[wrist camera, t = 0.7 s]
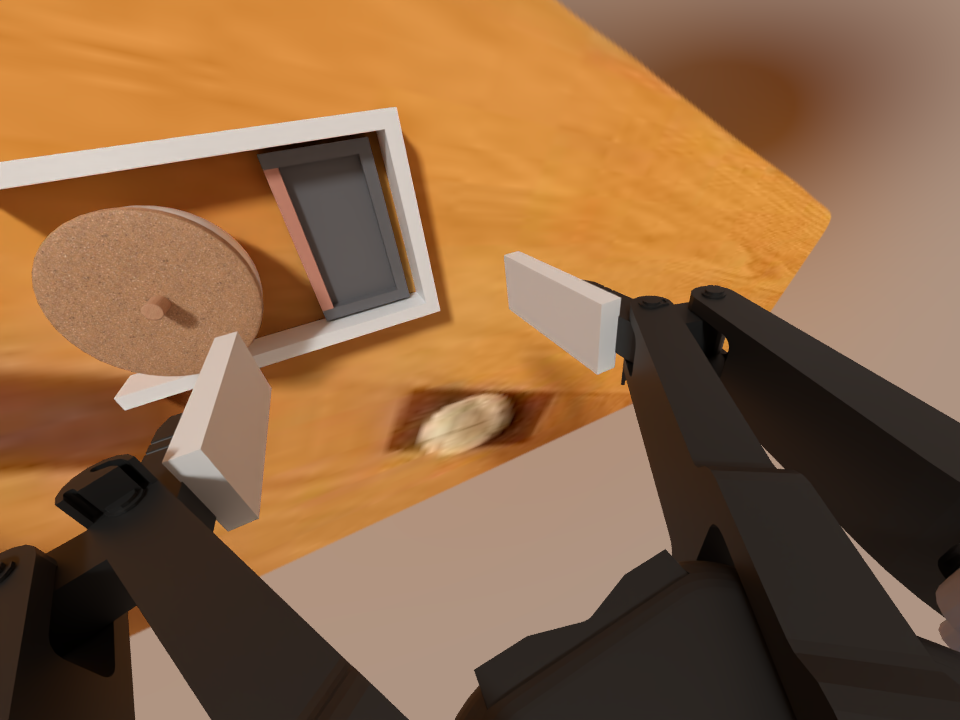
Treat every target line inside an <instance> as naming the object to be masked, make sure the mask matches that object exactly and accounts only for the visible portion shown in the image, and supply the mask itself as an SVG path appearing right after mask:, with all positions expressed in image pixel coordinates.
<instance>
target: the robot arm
mask: <svg viewBox="0 0 960 720" xmlns="http://www.w3.org/2000/svg"><path fill="white" fill-rule="evenodd" d="M504 262H505V272H506V282H507V292H508V302H509V309H510V310H511V311H513V312H514V313H515V314H517V315H518V316H519V317H521V318H522V319H523V320H525V321H526V322H527V323H529V324H530V325H531V326H533V327H534V328H535V329H537V330H538V331H539V332H541V333H542V334H543V335H545V336H546V337H547V338H549V339H550V340H551V341H553V342H554V343H555V344H557V345H558V346H559V347H561V348H562V349H563V350H565V351H566V352H568V353H569V354H570V355H572V356H573V357H574V358H576V359H577V360H578V361H580V362H581V363H582V364H584V365H585V366H586V367H588V368H589V369H590V370H592V371H593V372H594V373H596V374H597V375H598V374H600V373H602V372H605V371H607V370H610V369H612V368H614V367H615V356H616V353H617V354H619V355H620V356H622V357H623V358H624V363H623V372H622V381H621V385H625V381H626V380H627V384H628V387H629V391H630V395H631V398H632V402H633V405H634V409H635V413H636V416H637V420H638V423H639V427H640V431H641V434H642V438H643V441H644V445H645V448H646V452H647V456H648V460H649V463H650V467H651V470H652V473H653V478H654V481H655V485H656V488H657V492H658V496H659V499H660V503H661V506H662V509H663V513H664V517H665V521H666V524H667V528H668V532H669V535H670V540H671V545H672V556H671V555H670V554H669V553H668V551H667V550H663V551H662V552H660V553H659V554H657V555H655V556H654V557H652V558H651V559H649V560H647V561H646V562H644V563H643V564H641V565H640V566H638V567H636V568H635V569H633V570H632V571H630V572H628V573H627V574H625V575H624V576H623V578H622V579H621V580H620V581H619V583H618V584H617V585H616V586H615V588H614V589H613V590H612V591H611V593H610V594H609V595H608V597H607V598H606V599H605V600H604V601H603V603H602V604H601V605H600V607H599V608H598V609H597V610H596V612H595V613H594V614H593V616H591V618H589V619H588V620H586V621H584V622H581V623H577V624H573V625H569V626H565V627H562V628H557V629H554V630H550V631H546V632H542V633H538V634H534V635H530V636H527V637H525V638H524V639H522V640H521V641H519V642H517V643H516V644H514V645H513V646H511V647H510V648H508V649H506V650H505V651H503V652H502V653H500V654H498V655H497V656H495V657H494V658H492V659H491V660H489V661H487V662H486V663H484V664H483V665H481V666H480V667H478V668H476V669H475V670H474V671H475V674H476V677H477V680H478V683H479V686H478V687H477V689H476V690H475V691H474V692H473V693H472V694H471V696H470V697H469V698H468V699H467V701H466V702H465V704H464V705H463V707H462V708H461V710H460V711H459V713H458V714H457V716H456V718H455V720H960V423H959V422H957V421H955V420H954V419H952V418H950V417H949V416H947V415H945V414H944V413H942V412H940V411H938V410H937V409H935V408H933V407H932V406H930V405H928V404H927V403H925V402H923V401H921V400H920V399H918V398H916V397H915V396H913V395H911V394H909V393H908V392H906V391H904V390H903V389H901V388H899V387H897V386H896V385H894V384H892V383H891V382H889V381H887V380H885V379H884V378H882V377H880V376H878V375H876V374H875V373H873V372H872V371H870V370H868V369H866V368H865V367H863V366H861V365H860V364H858V363H856V362H854V361H853V360H851V359H849V358H848V357H846V356H844V355H842V354H841V353H839V352H837V351H836V350H834V349H832V348H830V347H829V346H827V345H825V344H824V343H822V342H820V341H818V340H817V339H815V338H813V337H811V336H810V335H808V334H806V333H805V332H803V331H801V330H800V329H798V328H796V327H794V326H793V325H791V324H789V323H788V322H786V321H784V320H782V319H781V318H779V317H777V316H776V315H774V314H772V313H770V312H769V311H767V310H765V309H764V308H762V307H760V306H758V305H757V304H755V303H753V302H751V301H750V300H748V299H746V298H745V297H743V296H741V295H739V294H738V293H736V292H734V291H732V290H730V289H728V288H724V287H720V286H716V285H715V286H713V285H708V286H701V287H698V288H695V289H693V290H692V291H691V296H690V301H689V302H688V303H681V304H675V305H673V303H672V302H671V301H670V300H668V299H666V298H663V297H658V296H641V297H637V298H635V299H632V298H630V297H627V296H625V295H623V294H621V293H618V292H616V291H614V290H613V291H612V290H611V289H609V288H607V287H604V286H603V285H600V284H598V283H596V282H592V281H587V280H581V279H579V278H577V277H574V276H572V275H570V274H568V273H566V272H563V271H561V270H559V269H557V268H555V267H552V266H550V265H548V264H546V263H544V262H542V261H539V260H537V259H535V258H533V257H531V256H528V255H526V254H524V253H522V252H520V251H517V252H513V253H510V254H506V255H504ZM725 337H726V338H727V340H728V343H729V351H728V353H727V352H726V351H725V350H723V349H722V347H723V343H724V340H725ZM271 389H272V388H271V387H270V385H269V383H268V382H267V380H266V378H265V377H264V375H263V373H262V372H261V370H260V368H259V367H258V365H257V363H256V362H255V360H254V358H253V356H252V355H251V353H250V351H249V350H248V348H247V346H246V345H245V343H244V341H243V340H242V338H241V336H240V335H239V333H238V331H237V332H233V333H230V334H226V335H223V336H219V337H216V338H214V341H213V343H212V346H211V348H210V350H209V353H208V355H207V357H206V360H205V362H204V364H203V367H202V369H201V371H200V374H199V376H198V379H197V381H196V383H195V386H194V388H193V390H192V393H191V395H190V397H189V400H188V402H187V405H186V407H185V409H184V412H183V413H180V414H177V415H174V416H171V417H170V418H169V419H168V420H167V421H166V422H165V423H164V424H163V425H162V426H161V427H160V428H159V429H158V430H157V431H156V433H155V435H154V437H153V439H152V441H151V444H152V445H150V446H149V448H148V450H147V452H146V454H147V455H145V456H144V458H143V460H142V462H140V461H139V460H138V459H137V458H135V457H134V456H132V455H129V454H125V455H117V456H114V457H111V458H108V459H105V460H102V461H101V462H99V463H97V464H95V465H93V466H91V467H89V468H87V469H86V470H84V471H83V472H81V473H80V474H78V475H77V476H75V477H74V478H73V479H71V480H70V481H69V482H68V483H67V484H66V485H65V486H64V487H63V488H62V489H61V490H60V492H59V493H58V495H57V496H56V497H55V505H56V506H57V507H58V508H60V509H61V510H62V511H64V512H65V513H66V514H68V515H69V516H71V517H72V518H73V519H75V520H76V521H77V522H79V523H80V524H81V525H83V526H84V527H85V528H87V529H88V530H87V531H85V532H83V533H82V534H80V535H78V536H77V537H75V538H73V539H71V540H69V541H68V542H66V543H64V544H62V545H61V546H59V547H57V548H55V549H53V550H52V551H50V552H48V553H46V554H45V553H44V552H42V551H41V550H39V549H38V548H36V547H34V546H30V545H22V546H18V547H14V548H11V549H9V550H6V551H4V552H2V553H0V720H135V712H134V698H133V682H132V669H131V668H132V667H131V653H130V638H129V623H128V611H129V610H131V609H132V608H134V607H135V606H136V605H137V606H138V608H139V609H140V611H141V612H142V614H143V616H144V617H145V619H146V620H147V622H148V623H149V625H150V626H151V628H152V629H153V631H154V632H155V634H156V635H157V637H158V639H159V640H160V642H161V643H162V645H163V646H164V648H165V649H166V651H167V652H168V654H169V655H170V657H171V659H172V660H173V662H174V663H175V665H176V666H177V668H178V669H179V671H180V672H181V674H182V675H183V677H184V679H185V680H186V682H187V683H188V685H189V686H190V688H191V689H192V691H193V692H194V694H195V695H196V697H197V699H198V700H199V702H200V703H201V705H202V706H203V708H204V709H205V711H206V712H207V714H208V715H209V717H210V718H211V720H409V719H408V718H406V717H405V716H404V715H403V714H402V713H401V712H400V711H399V710H398V709H397V708H396V707H395V706H394V705H393V704H392V703H391V702H390V701H389V700H388V699H386V698H385V696H384V695H383V694H381V693H380V692H379V691H378V690H377V689H376V688H375V687H374V686H373V685H372V684H371V683H370V682H369V681H368V680H367V679H366V678H365V677H364V676H363V675H362V674H360V673H359V672H358V671H357V670H356V669H355V668H354V667H353V666H351V665H350V664H349V663H348V662H347V661H346V660H345V659H344V658H343V657H342V656H341V655H340V654H339V653H338V652H337V651H336V650H335V649H334V648H333V647H332V646H331V645H330V644H329V643H328V642H326V641H325V640H324V639H323V638H322V637H321V636H320V635H319V634H318V633H317V632H316V631H315V630H314V629H313V628H312V627H311V626H310V625H309V624H308V623H307V622H306V621H304V619H303V618H301V617H300V616H299V615H298V614H297V613H296V612H295V611H294V610H293V609H292V608H291V607H290V606H289V605H288V604H287V603H286V602H285V601H284V600H283V599H282V598H281V597H280V596H279V595H277V594H276V593H275V592H274V591H273V590H272V589H271V588H270V587H269V586H268V585H267V584H266V583H265V582H264V581H263V580H262V579H261V578H260V577H259V576H258V575H257V574H256V573H255V572H254V571H253V570H252V569H250V568H249V567H248V566H247V565H246V564H245V563H244V562H243V561H242V560H241V559H240V558H239V557H238V556H237V555H236V554H235V553H234V552H233V551H232V550H231V549H230V548H229V547H228V546H227V545H225V544H224V543H223V542H222V541H221V540H220V539H219V538H218V537H217V536H216V535H215V534H214V533H213V530H214V526H215V521H216V520H217V521H218V522H219V523H220V524H221V525H222V526H223V527H224V528H225V529H226V530H227V531H230V530H233V529H235V528H237V527H240V526H242V525H244V524H247V523H249V522H252V521H254V520H256V519H259V512H260V502H261V492H262V482H263V471H264V461H265V451H266V440H267V430H268V420H269V409H270V399H271ZM761 445H762V446H763V447H764V448H765V449H766V450H767V451H768V452H769V453H770V454H771V455H772V456H773V457H774V458H775V459H776V460H777V461H778V462H779V463H780V464H781V465H782V466H783V467H784V468H785V469H777V468H776V467H775V466H774V465H773V464H772V462H771V461H770V459H769V457H768V456H767V454H766V452H765V451H764V449H763V448H762V446H761ZM841 527H842V528H844V530H845V531H846V532H847V533H848V534H849V535H850V536H851V537H852V538H853V539H854V540H855V541H856V542H857V543H858V544H859V545H860V546H861V547H862V548H863V549H864V550H865V551H866V552H867V553H868V554H869V555H871V557H873V558H874V559H875V560H876V561H877V562H878V563H879V564H880V565H881V566H882V567H883V568H884V569H885V570H886V571H887V572H889V573H890V574H891V575H892V576H893V577H895V578H896V579H897V580H898V581H899V582H900V583H902V584H903V585H904V586H905V587H906V588H908V589H909V590H910V591H911V592H912V593H914V594H915V595H916V596H917V597H918V598H920V599H921V600H922V601H923V602H925V603H926V604H927V605H929V606H930V607H931V608H933V609H934V610H936V611H937V612H938V613H939V614H941V615H942V616H943V617H945V618H946V620H945V621H944V622H942V623H941V624H940V627H939V632H940V635H941V637H942V639H943V640H944V642H945V643H946V644H947V645H948V646H949V647H950V648H948V647H945V646H942V645H940V644H937V643H934V642H932V641H929V640H927V639H924V638H921V637H919V636H916V635H915V633H914V632H913V630H912V629H911V627H910V626H909V624H908V623H907V621H906V620H905V619H904V617H903V616H902V614H901V613H900V611H899V610H898V608H897V607H896V606H895V604H894V603H893V601H892V600H891V598H890V597H889V595H888V594H887V593H886V591H885V590H884V588H883V587H882V585H881V584H880V582H879V581H878V580H877V578H876V577H875V575H874V574H873V572H872V571H871V569H870V568H869V567H868V565H867V564H866V562H865V561H864V559H863V558H862V556H861V555H860V554H859V552H858V551H857V549H856V548H855V546H854V545H853V543H852V542H851V541H850V539H849V538H848V536H847V535H846V533H845V532H844V531H843V529H842V528H841Z"/></svg>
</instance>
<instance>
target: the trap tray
mask: <svg viewBox="0 0 960 720" xmlns="http://www.w3.org/2000/svg"><path fill="white" fill-rule="evenodd" d="M257 157H258V160H259V162H260V164H261V167H262V169H263V171H264V174H265V176H266V178H267V181H268V183H269V186H270V188H271V190H272V193H273V195H274V197H275V200H276V202H277V205H278V207H279V209H280V212H281V214H282V216H283V219H284V221H285V223H286V226H287V228H288V231H289V233H290V235H291V238H292V240H293V242H294V245H295V247H296V250H297V252H298V254H299V257H300V259H301V261H302V264H303V266H304V268H305V271H306V273H307V276H308V278H309V280H310V283H311V285H312V287H313V290H314V292H315V295H316V297H317V299H318V302H319V304H320V306H321V309H322V311H323V313H324V316H325V318H326V321H329V320H332V319H335V318H339V317H342V316H346V315H349V314H352V313H356V312H359V311H363V310H366V309H369V308H373V307H376V306H379V305H383V304H386V303H390V302H393V301H396V300H400V299H403V298H406V297H410V295H409V291H408V287H407V284H406V280H405V276H404V272H403V268H402V264H401V261H400V257H399V253H398V249H397V245H396V242H395V238H394V234H393V230H392V226H391V223H390V219H389V215H388V211H387V207H386V204H385V200H384V196H383V192H382V188H381V185H380V181H379V177H378V173H377V169H376V165H375V162H374V158H373V154H372V150H371V146H370V143H369V139H368V137H363V138H357V139H351V140H345V141H338V142H332V143H326V144H320V145H313V146H307V147H301V148H295V149H288V150H282V151H276V152H270V153H263V154H257Z"/></svg>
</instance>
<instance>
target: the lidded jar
mask: <svg viewBox="0 0 960 720" xmlns="http://www.w3.org/2000/svg"><path fill="white" fill-rule="evenodd" d="M32 282H33V289H34V292H35V295H36V298H37V302H38V304H39V305H40V307H41V309H42V311H43V313H44V314H45V316H46V317H47V319H48V320H49V321H50V322H51V324H52V325H53V326H54V327H55V329H56V330H57V331H58V332H60V333H61V334H62V335H63V336H64V337H65V338H66V339H67V340H68V341H69V342H71V343H72V344H74V345H75V346H76V347H78V348H79V349H81V350H82V351H84V352H85V353H87V354H89V355H91V356H93V357H95V358H96V359H98V360H100V361H103V362H105V363H107V364H110V365H112V366H115V367H118V368H121V369H125V370H128V371H131V372H136V373H141V374H147V375H155V376H187V375H195V374H200V371H201V369H202V367H203V364H204V362H205V360H206V357H207V355H208V353H209V350H210V348H211V346H212V343H213V341H214V338H216V337H219V336H223V335H226V334H230V333H233V332H237V331H238V333H239V335H240V336H241V338H242V340H243V341H244V343H245V345H246V346H247V348H248V347H249V346H250V345H251V344H252V342H253V341H254V339H255V337H256V336H257V334H258V331H259V328H260V326H261V322H262V316H263V291H262V285H261V281H260V277H259V274H258V271H257V269H256V266H255V264H254V262H253V261H252V259H251V258H250V256H249V254H248V253H247V252H246V251H245V250H244V248H243V247H242V246H241V245H240V244H239V243H238V242H237V241H236V240H235V239H234V238H233V237H232V236H231V235H230V234H228V233H227V232H226V231H224V230H223V229H221V228H220V227H219V226H217V225H215V224H213V223H211V222H210V221H208V220H206V219H204V218H201V217H199V216H196V215H194V214H192V213H189V212H185V211H182V210H178V209H174V208H168V207H162V206H143V205H134V206H126V207H118V208H109V209H101V210H98V211H94V212H90V213H87V214H83V215H80V216H78V217H76V218H73V219H71V220H69V221H67V222H65V223H63V224H62V225H60V226H59V227H58V228H56V229H55V230H54V231H53V232H51V233H50V234H49V235H48V236H47V238H46V239H45V240H44V241H43V243H42V244H41V245H40V247H39V249H38V251H37V253H36V256H35V258H34V262H33V268H32Z"/></svg>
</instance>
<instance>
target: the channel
mask: <svg viewBox="0 0 960 720" xmlns="http://www.w3.org/2000/svg"><path fill="white" fill-rule="evenodd" d="M373 131H376V133H377V137H378V141H379V145H380V149H381V153H382V157H383V161H384V165H385V169H386V173H387V177H388V181H389V185H390V189H391V193H392V197H393V201H394V205H395V209H396V213H397V217H398V221H399V225H400V229H401V233H402V237H403V241H404V245H405V249H406V253H407V257H408V261H409V265H410V269H411V273H412V277H413V281H414V285H415V289H416V292H413V293H410V294H409V295H410V297H406V298H403V299H400V300H396V301H393V302H390V303H386V304H383V305H379V306H376V307H373V308H369V309H366V310H363V311H359V312H356V313H352V314H349V315H346V316H342V317H339V318H335V319H332V320H329V321H326V318H325V319H321V320H318V321H314V322H311V323H308V324H304V325H301V326H297V327H294V328H291V329H287V330H284V331H280V332H277V333H274V334H270V335H267V336H263V337H260V338H257V339H254V341H253V342H252V344H251V345H250V346H249V347H248V350H249V351H250V353H251V355H252V356H253V358H254V360H255V362H256V363H257V365H258V367H259V368H261V367H264V366H267V365H270V364H273V363H277V362H280V361H283V360H286V359H289V358H293V357H296V356H299V355H302V354H305V353H308V352H312V351H315V350H318V349H321V348H324V347H327V346H331V345H334V344H337V343H340V342H343V341H346V340H350V339H353V338H356V337H359V336H362V335H365V334H369V333H372V332H375V331H378V330H381V329H384V328H388V327H391V326H394V325H397V324H400V323H403V322H407V321H410V320H413V319H416V318H419V317H423V316H426V315H429V314H432V313H435V312H438V311H440V307H439V302H438V298H437V293H436V288H435V284H434V279H433V274H432V270H431V265H430V261H429V256H428V251H427V247H426V242H425V237H424V233H423V228H422V224H421V219H420V214H419V210H418V205H417V200H416V196H415V191H414V187H413V182H412V177H411V173H410V168H409V163H408V159H407V154H406V149H405V145H404V140H403V136H402V131H401V126H400V122H399V117H398V112H397V108H396V107H392V108H384V109H377V110H370V111H363V112H356V113H349V114H341V115H334V116H327V117H320V118H313V119H306V120H298V121H291V122H284V123H277V124H270V125H263V126H255V127H248V128H241V129H234V130H227V131H220V132H212V133H205V134H198V135H191V136H184V137H177V138H169V139H162V140H155V141H148V142H141V143H134V144H126V145H119V146H112V147H105V148H98V149H91V150H83V151H76V152H69V153H62V154H55V155H48V156H40V157H33V158H26V159H19V160H12V161H5V162H0V190H2V189H8V188H15V187H21V186H28V185H34V184H40V183H47V182H53V181H59V180H66V179H72V178H79V177H85V176H91V175H98V174H104V173H111V172H117V171H123V170H130V169H136V168H143V167H149V166H155V165H162V164H168V163H175V162H181V161H187V160H194V159H200V158H207V157H213V156H219V155H226V154H232V153H238V152H245V151H251V150H258V149H264V148H270V147H277V146H283V145H290V144H296V143H302V142H309V141H315V140H322V139H328V138H334V137H341V136H347V135H354V134H360V133H366V132H373ZM198 376H199V374H195V375H187V376H155V375H147V374H141V373H137V374H134V375H131V376H130V377H129V378H128V380H127V381H126V382H125V384H124V385H123V387H122V388H121V389H120V391H119V392H118V394H117V395H116V396H115V398H114V399H115V400H116V401H117V403H118V404H119V405H120V406H121V407H122V408H123V409H124V410H128V409H131V408H134V407H137V406H140V405H143V404H147V403H150V402H153V401H156V400H159V399H163V398H166V397H169V396H172V395H175V394H178V393H182V392H185V391H188V390H191V389H193V388H194V386H195V383H196V381H197V379H198Z"/></svg>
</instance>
